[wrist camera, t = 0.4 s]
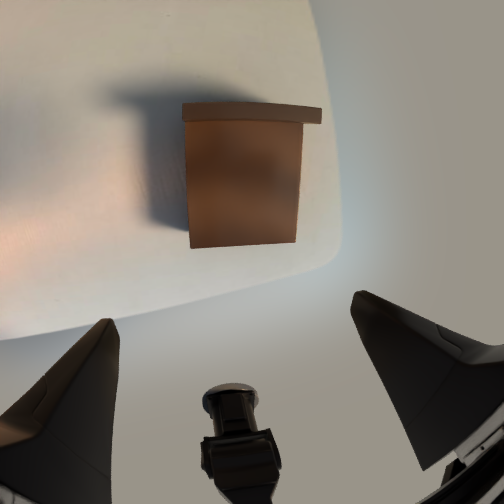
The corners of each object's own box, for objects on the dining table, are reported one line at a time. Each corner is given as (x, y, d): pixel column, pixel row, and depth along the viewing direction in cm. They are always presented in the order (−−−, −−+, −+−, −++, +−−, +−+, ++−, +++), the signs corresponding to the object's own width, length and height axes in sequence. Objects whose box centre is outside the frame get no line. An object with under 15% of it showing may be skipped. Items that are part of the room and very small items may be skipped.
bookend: (283, 228, 24) (310, 260, 18) (191, 233, 22) (189, 269, 17) (289, 112, 20) (322, 108, 14) (187, 110, 18) (182, 103, 13)
